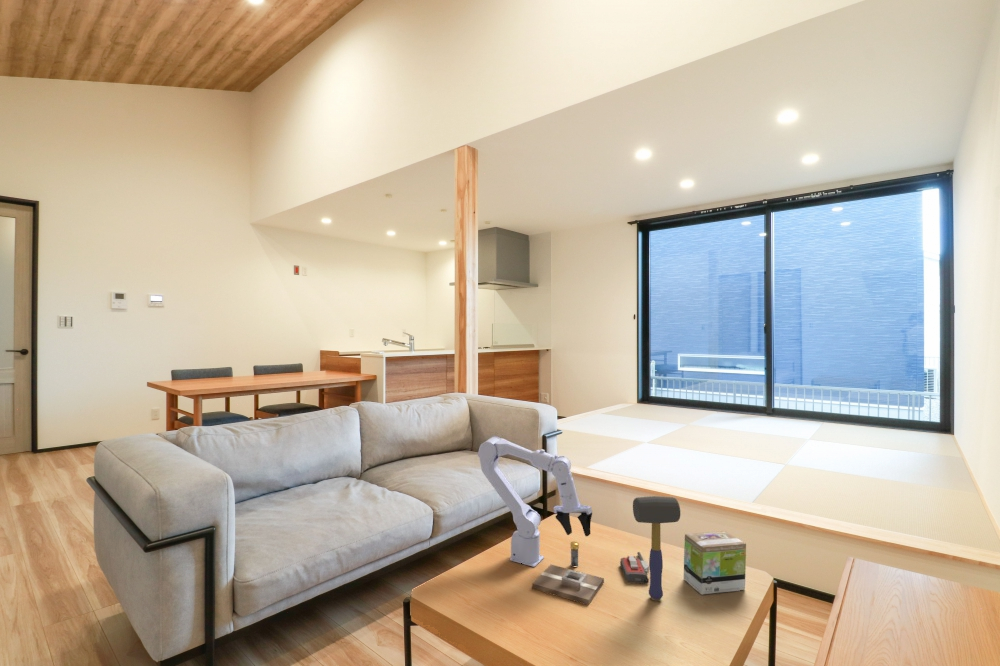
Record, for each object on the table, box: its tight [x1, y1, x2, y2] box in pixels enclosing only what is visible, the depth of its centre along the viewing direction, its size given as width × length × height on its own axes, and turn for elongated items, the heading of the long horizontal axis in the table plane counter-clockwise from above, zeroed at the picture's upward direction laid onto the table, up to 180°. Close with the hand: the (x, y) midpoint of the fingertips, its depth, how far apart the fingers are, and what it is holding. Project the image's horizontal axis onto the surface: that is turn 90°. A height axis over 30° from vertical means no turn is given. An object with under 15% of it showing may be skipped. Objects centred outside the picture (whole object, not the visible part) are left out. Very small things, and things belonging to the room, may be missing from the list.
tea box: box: [683, 530, 747, 596], centre depth 151 cm, size 15×10×15 cm, turn 102°
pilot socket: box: [562, 569, 588, 590], centre depth 149 cm, size 6×6×2 cm
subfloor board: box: [531, 564, 605, 606], centre depth 150 cm, size 18×14×2 cm
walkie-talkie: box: [619, 551, 650, 584], centre depth 161 cm, size 9×4×20 cm
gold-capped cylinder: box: [569, 541, 580, 567], centre depth 163 cm, size 3×3×8 cm
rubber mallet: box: [632, 495, 681, 602], centre depth 143 cm, size 12×8×30 cm, turn 91°
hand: (578, 534), depth 162 cm, fingers open, 7 cm apart
